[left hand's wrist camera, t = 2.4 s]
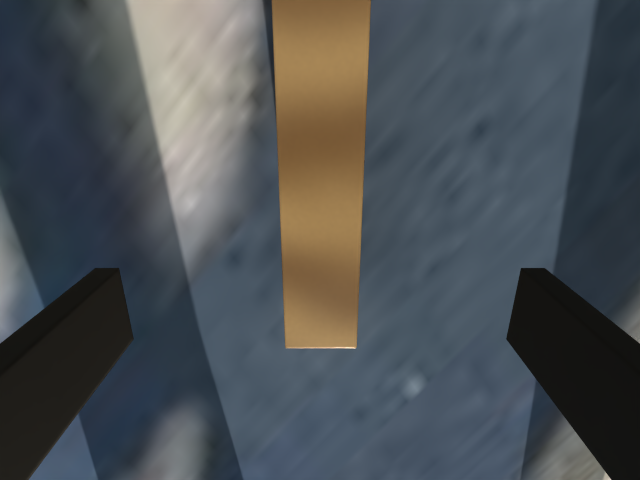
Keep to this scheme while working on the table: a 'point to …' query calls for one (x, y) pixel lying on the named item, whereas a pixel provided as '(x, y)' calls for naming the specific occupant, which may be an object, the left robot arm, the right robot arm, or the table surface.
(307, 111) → the post
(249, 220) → the table surface
